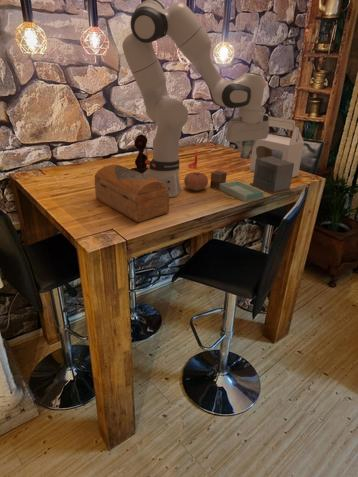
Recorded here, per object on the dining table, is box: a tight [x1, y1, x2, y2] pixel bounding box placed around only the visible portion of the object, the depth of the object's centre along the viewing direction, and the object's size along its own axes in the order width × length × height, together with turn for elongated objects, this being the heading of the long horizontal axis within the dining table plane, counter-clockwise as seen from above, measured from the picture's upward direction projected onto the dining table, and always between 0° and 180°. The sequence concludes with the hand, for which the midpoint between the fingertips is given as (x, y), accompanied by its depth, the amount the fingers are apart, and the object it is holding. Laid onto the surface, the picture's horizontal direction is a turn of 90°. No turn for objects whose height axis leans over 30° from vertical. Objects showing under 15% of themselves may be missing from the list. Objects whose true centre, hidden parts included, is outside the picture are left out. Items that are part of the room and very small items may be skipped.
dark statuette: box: [130, 134, 149, 174], centre depth 172 cm, size 15×15×20 cm
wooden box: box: [94, 164, 170, 223], centre depth 139 cm, size 30×16×14 cm, turn 40°
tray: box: [219, 179, 266, 203], centre depth 157 cm, size 11×18×3 cm, turn 30°
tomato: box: [183, 171, 209, 192], centre depth 160 cm, size 11×11×8 cm
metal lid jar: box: [239, 140, 252, 160], centre depth 149 cm, size 4×4×7 cm
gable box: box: [249, 116, 305, 178], centre depth 182 cm, size 22×13×28 cm, turn 41°
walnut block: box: [210, 170, 227, 191], centre depth 163 cm, size 5×5×7 cm
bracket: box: [187, 150, 198, 169], centre depth 194 cm, size 12×4×8 cm, turn 177°
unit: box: [249, 155, 294, 196], centre depth 163 cm, size 12×16×13 cm
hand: (245, 151), depth 149 cm, fingers closed on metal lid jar, 4 cm apart
